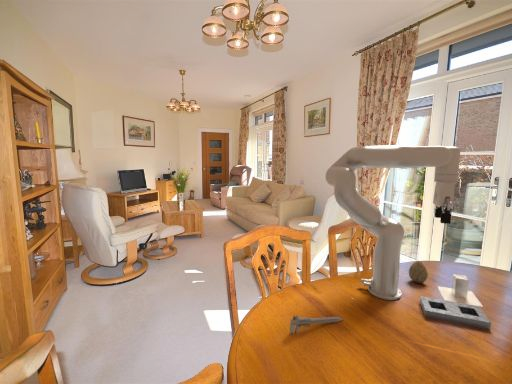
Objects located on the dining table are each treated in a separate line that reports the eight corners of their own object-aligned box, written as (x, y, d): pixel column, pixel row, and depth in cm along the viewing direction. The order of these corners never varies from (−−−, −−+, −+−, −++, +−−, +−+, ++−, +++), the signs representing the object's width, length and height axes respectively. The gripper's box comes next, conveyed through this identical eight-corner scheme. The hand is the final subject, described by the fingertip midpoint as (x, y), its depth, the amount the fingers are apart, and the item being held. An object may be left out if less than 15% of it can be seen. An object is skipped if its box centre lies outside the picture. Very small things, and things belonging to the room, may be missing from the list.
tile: (444, 301, 101) (444, 300, 101) (436, 287, 112) (437, 286, 112) (483, 308, 97) (483, 306, 97) (471, 292, 108) (471, 291, 107)
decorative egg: (430, 286, 113) (432, 264, 112) (414, 286, 113) (415, 264, 112) (420, 278, 120) (421, 257, 119) (404, 278, 120) (406, 258, 119)
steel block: (454, 297, 103) (456, 278, 102) (451, 292, 107) (453, 273, 106) (466, 299, 102) (468, 280, 101) (463, 294, 105) (465, 275, 104)
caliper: (291, 336, 83) (291, 318, 83) (289, 333, 84) (289, 316, 84) (343, 321, 91) (343, 304, 90) (340, 319, 92) (341, 302, 91)
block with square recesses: (424, 318, 91) (425, 310, 91) (419, 303, 100) (420, 296, 100) (489, 331, 84) (491, 322, 84) (478, 314, 93) (479, 306, 93)
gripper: (430, 176, 113) (426, 215, 115) (439, 180, 97) (436, 224, 99) (451, 176, 110) (447, 216, 112) (464, 180, 94) (460, 226, 96)
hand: (442, 220), depth 106 cm, fingers open, 9 cm apart
